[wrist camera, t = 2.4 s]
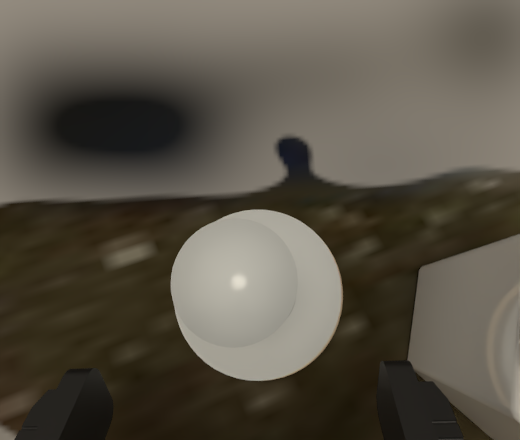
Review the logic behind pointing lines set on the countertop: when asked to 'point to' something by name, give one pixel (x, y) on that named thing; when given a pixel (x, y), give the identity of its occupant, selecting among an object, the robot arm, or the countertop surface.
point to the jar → (473, 334)
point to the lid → (256, 294)
